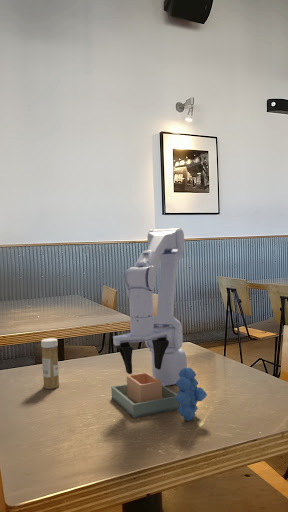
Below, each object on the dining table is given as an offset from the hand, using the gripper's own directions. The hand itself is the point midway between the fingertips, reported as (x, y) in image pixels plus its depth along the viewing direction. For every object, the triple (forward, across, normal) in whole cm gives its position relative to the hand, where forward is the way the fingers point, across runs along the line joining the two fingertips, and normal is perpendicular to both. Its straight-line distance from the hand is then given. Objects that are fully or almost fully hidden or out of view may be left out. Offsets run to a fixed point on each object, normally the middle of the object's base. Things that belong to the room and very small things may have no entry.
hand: (143, 370), depth 109 cm
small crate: (+8, 0, 0) cm, 8 cm away
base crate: (+8, 0, 0) cm, 8 cm away
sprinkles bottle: (+8, -18, +25) cm, 32 cm away
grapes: (+8, +5, -15) cm, 18 cm away
